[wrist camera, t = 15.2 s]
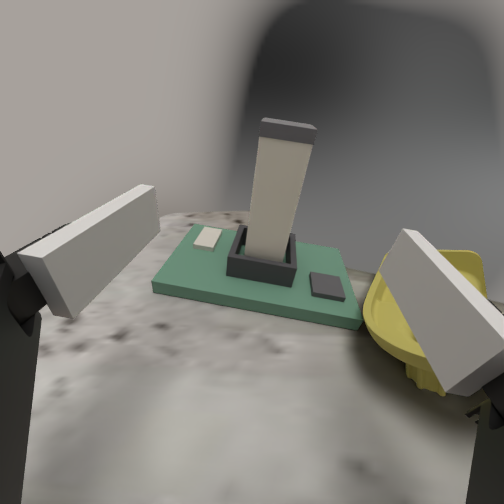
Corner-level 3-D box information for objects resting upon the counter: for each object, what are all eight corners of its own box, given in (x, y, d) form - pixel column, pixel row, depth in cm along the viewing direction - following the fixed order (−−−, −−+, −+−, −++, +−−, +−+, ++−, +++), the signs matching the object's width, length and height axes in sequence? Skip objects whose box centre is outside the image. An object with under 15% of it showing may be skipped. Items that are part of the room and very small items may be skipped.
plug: (279, 255, 27) (311, 124, 19) (279, 276, 24) (317, 129, 16) (246, 249, 27) (264, 117, 19) (241, 270, 24) (260, 120, 16)
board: (334, 257, 31) (345, 233, 29) (357, 330, 21) (375, 301, 19) (194, 233, 32) (194, 207, 29) (153, 292, 22) (147, 259, 20)
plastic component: (387, 249, 30) (494, 250, 24) (389, 297, 32) (488, 309, 26) (346, 337, 16) (589, 399, 10) (353, 415, 18) (558, 508, 12)
